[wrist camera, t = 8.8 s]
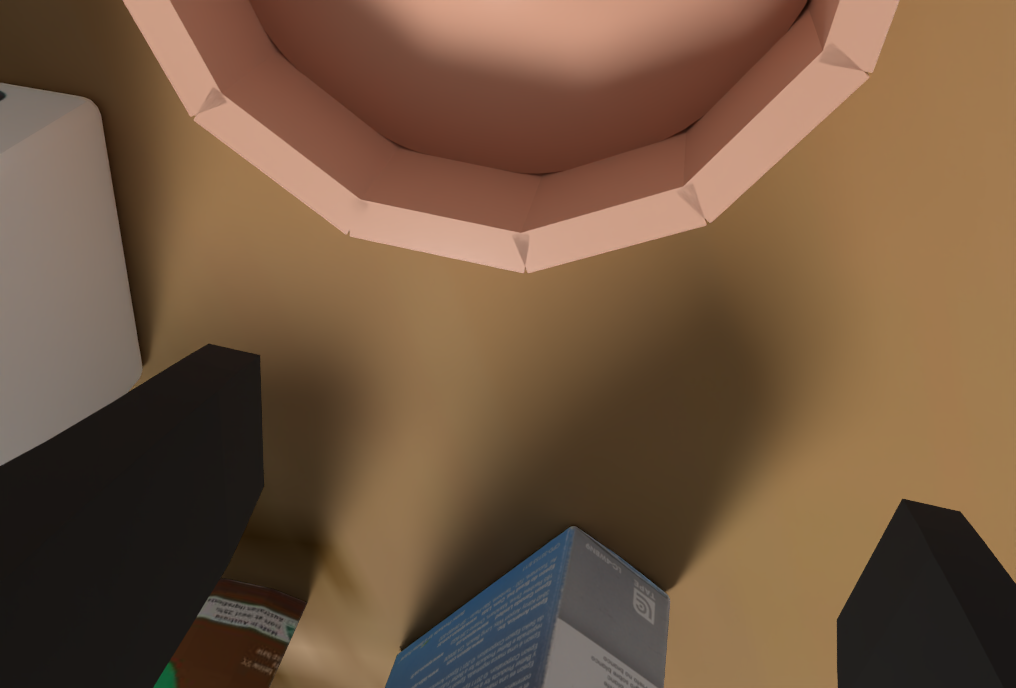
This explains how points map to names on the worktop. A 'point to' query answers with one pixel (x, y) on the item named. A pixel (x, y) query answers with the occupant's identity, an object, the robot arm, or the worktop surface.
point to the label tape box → (549, 627)
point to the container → (58, 270)
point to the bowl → (514, 109)
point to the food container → (235, 639)
